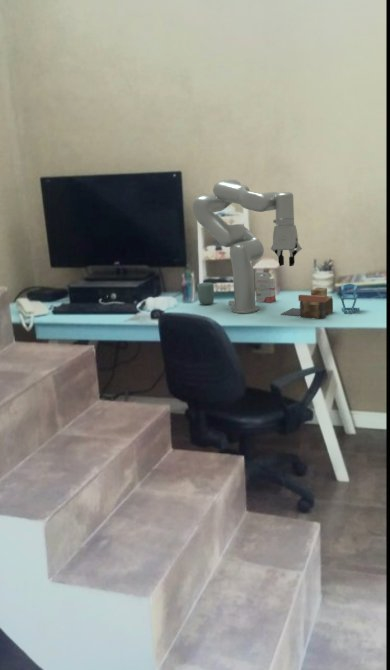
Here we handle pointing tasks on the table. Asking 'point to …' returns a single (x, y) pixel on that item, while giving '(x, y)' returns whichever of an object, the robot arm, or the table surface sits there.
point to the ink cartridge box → (264, 287)
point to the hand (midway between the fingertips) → (286, 265)
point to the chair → (347, 296)
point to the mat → (292, 312)
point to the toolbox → (316, 310)
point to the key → (312, 298)
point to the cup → (205, 293)
